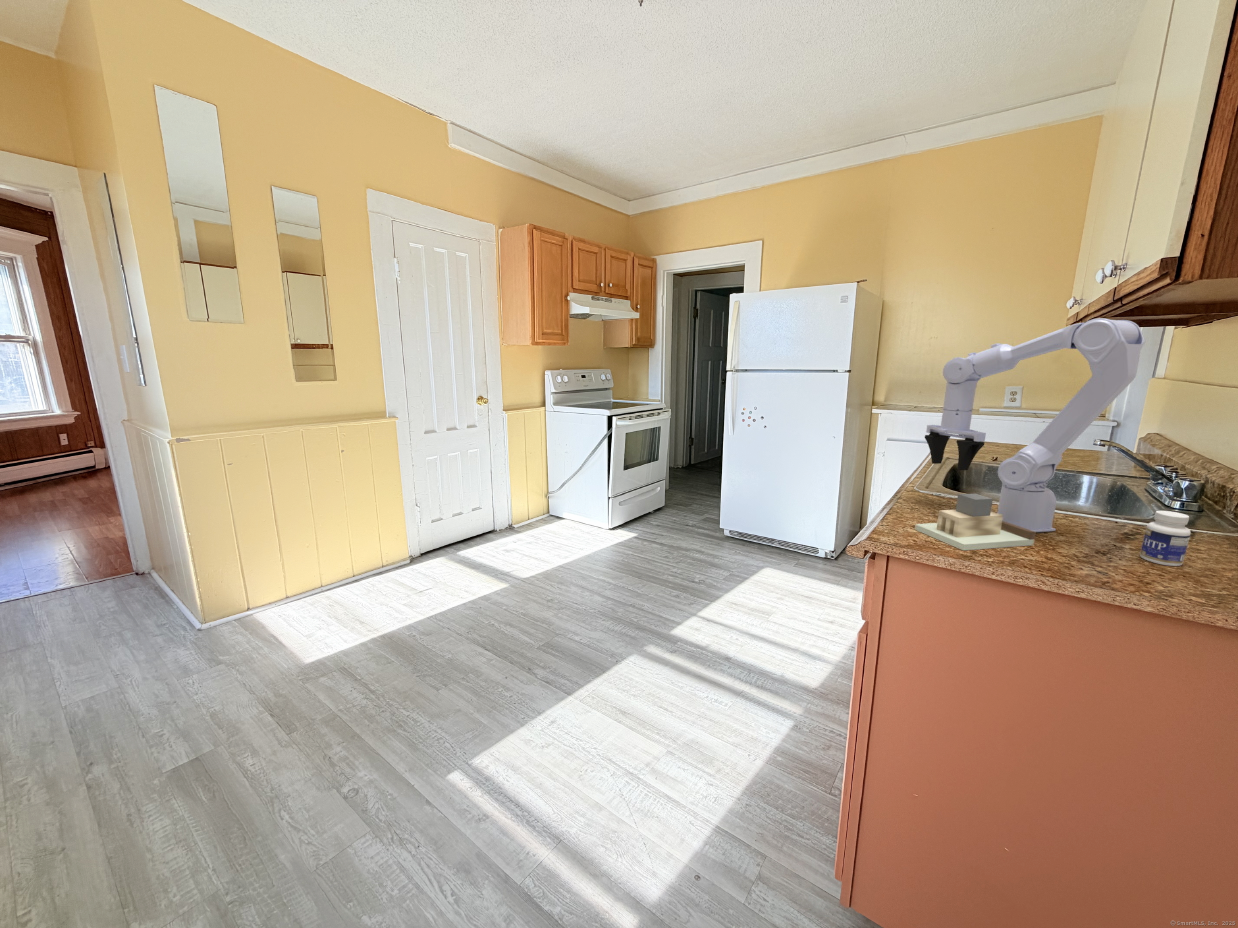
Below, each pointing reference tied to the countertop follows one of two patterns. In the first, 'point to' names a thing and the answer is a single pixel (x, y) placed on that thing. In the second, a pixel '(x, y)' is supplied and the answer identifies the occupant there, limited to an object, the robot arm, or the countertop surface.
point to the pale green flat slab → (982, 537)
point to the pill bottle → (1166, 539)
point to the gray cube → (974, 505)
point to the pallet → (968, 524)
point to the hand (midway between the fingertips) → (949, 466)
